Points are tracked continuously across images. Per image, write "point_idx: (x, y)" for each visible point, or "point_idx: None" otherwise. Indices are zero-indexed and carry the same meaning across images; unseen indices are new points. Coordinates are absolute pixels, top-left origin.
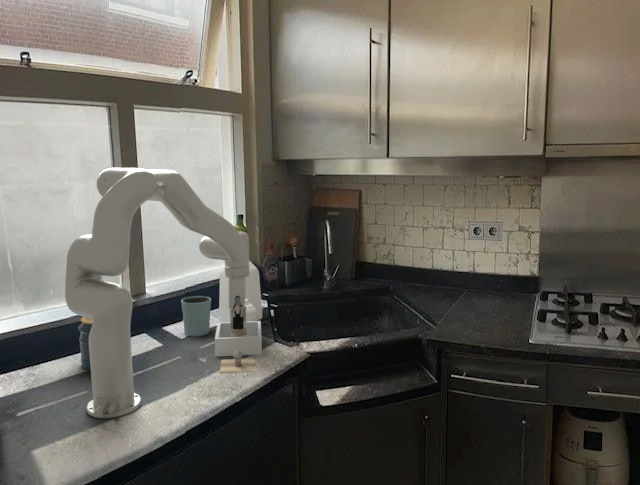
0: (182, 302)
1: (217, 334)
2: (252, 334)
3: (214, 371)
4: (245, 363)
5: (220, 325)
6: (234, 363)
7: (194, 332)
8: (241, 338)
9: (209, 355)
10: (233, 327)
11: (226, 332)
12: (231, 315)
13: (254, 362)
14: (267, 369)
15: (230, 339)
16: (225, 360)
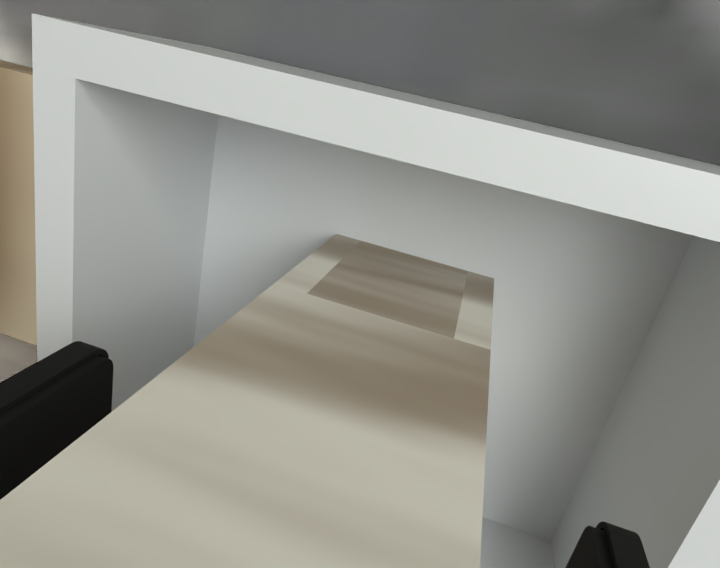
0: None
1: (214, 89)
2: (576, 542)
3: (4, 5)
4: (1, 266)
5: (703, 237)
6: (7, 185)
7: None
8: (42, 357)
9: (378, 3)
10: (62, 355)
11: (714, 302)
12: (49, 488)
13: (12, 330)
14: (7, 376)
15: (46, 233)
16: None
